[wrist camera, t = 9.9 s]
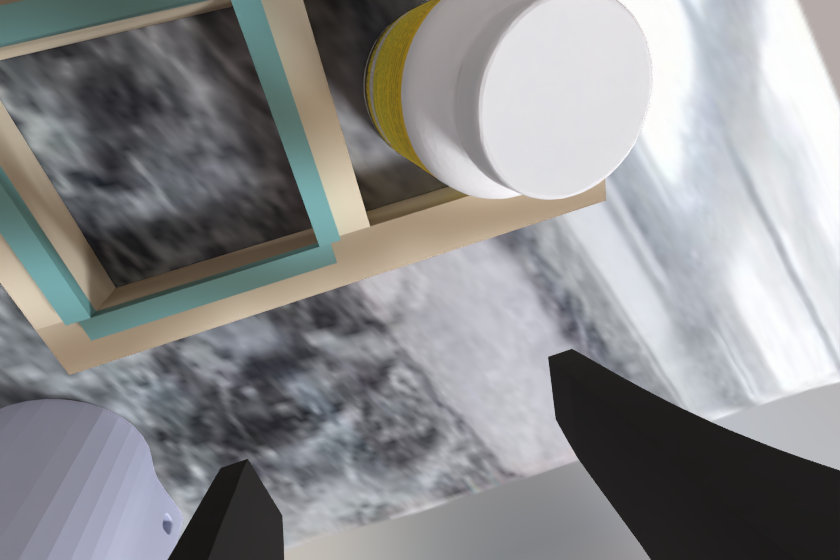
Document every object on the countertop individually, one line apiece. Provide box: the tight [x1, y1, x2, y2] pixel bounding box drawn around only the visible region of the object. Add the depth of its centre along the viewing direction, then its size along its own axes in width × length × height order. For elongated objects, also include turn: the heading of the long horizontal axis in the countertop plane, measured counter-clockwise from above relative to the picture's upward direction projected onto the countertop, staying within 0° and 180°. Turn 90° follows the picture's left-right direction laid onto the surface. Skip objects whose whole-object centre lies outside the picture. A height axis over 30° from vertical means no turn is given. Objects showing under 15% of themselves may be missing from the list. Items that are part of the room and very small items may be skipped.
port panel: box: [0, 0, 606, 375], centre depth 16 cm, size 12×22×2 cm, turn 103°
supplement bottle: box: [363, 0, 652, 200], centre depth 13 cm, size 5×5×10 cm
